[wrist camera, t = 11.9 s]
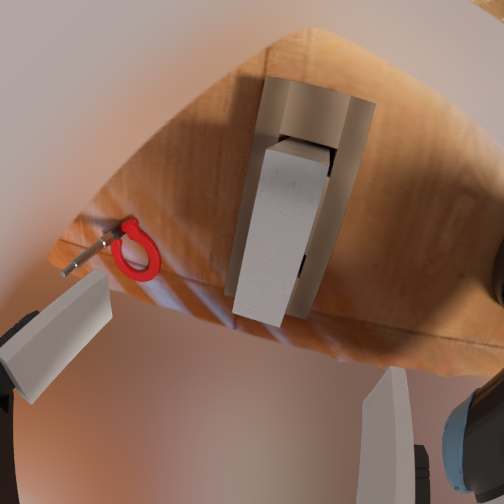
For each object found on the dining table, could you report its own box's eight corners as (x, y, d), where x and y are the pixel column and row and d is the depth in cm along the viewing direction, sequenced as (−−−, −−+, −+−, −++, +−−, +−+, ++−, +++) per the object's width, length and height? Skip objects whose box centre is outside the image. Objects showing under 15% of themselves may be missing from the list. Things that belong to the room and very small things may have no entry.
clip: (329, 146, 28) (329, 165, 17) (298, 256, 35) (279, 327, 23) (291, 136, 29) (266, 148, 18) (265, 246, 35) (232, 312, 24)
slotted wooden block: (369, 105, 25) (375, 103, 22) (309, 300, 37) (306, 320, 33) (274, 81, 27) (265, 76, 23) (233, 277, 38) (223, 294, 35)
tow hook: (173, 269, 41) (139, 212, 38) (123, 329, 30) (76, 258, 27) (134, 283, 44) (103, 232, 41) (86, 336, 33) (45, 277, 30)
